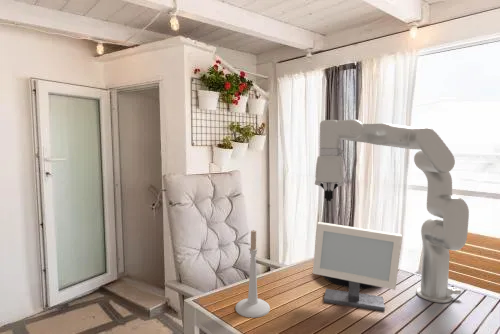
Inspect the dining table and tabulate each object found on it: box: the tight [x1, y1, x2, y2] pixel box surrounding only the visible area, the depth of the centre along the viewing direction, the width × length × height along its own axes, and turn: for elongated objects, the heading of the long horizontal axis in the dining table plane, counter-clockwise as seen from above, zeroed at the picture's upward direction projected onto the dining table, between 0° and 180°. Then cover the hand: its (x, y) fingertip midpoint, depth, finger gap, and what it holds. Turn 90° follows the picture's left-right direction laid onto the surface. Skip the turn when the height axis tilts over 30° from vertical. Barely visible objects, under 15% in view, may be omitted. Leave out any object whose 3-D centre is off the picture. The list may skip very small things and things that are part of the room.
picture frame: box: [312, 221, 403, 290], centre depth 125 cm, size 30×3×20 cm, turn 73°
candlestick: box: [235, 229, 271, 319], centre depth 122 cm, size 13×13×30 cm
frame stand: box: [323, 281, 386, 312], centre depth 129 cm, size 22×9×23 cm, turn 73°
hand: (328, 200), depth 127 cm, fingers closed
